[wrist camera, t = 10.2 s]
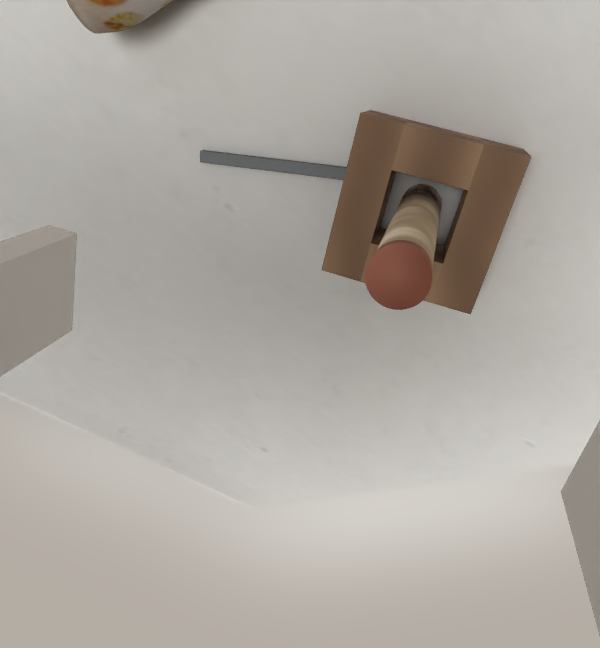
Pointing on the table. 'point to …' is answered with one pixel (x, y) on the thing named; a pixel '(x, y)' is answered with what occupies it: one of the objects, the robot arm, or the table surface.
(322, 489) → the table surface
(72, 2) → the mug
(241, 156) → the gray square bar
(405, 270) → the wooden dowel rod
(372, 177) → the wooden block with hole
